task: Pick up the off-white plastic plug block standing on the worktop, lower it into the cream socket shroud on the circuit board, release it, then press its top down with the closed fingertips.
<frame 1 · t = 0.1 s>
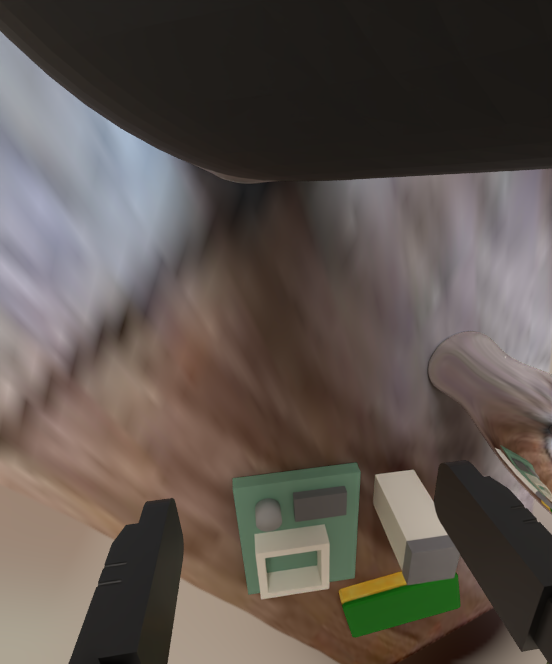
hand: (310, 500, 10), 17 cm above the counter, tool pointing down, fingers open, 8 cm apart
plug: (392, 486, 35), on the counter
beer glass: (459, 361, 30), on the counter
board: (298, 527, 36), on the counter
dish sponge: (394, 584, 43), on the counter
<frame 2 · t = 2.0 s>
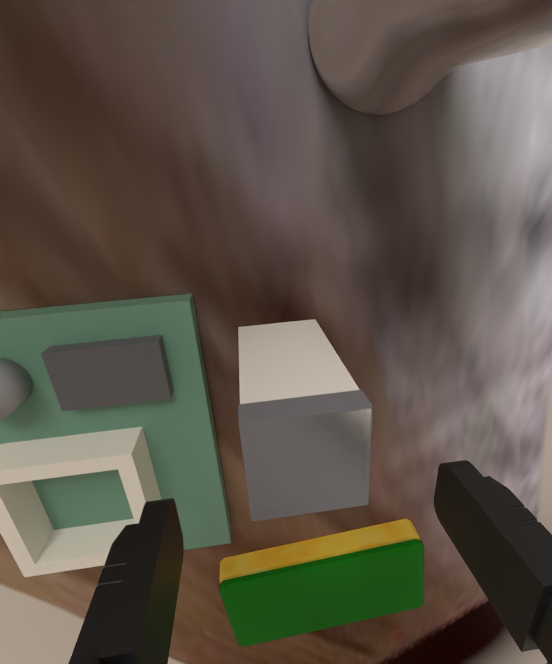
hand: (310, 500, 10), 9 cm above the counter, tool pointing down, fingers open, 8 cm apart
plug: (279, 357, 18), on the counter
beer glass: (381, 27, 14), on the counter
board: (107, 441, 19), on the counter
dish sponge: (319, 561, 26), on the counter
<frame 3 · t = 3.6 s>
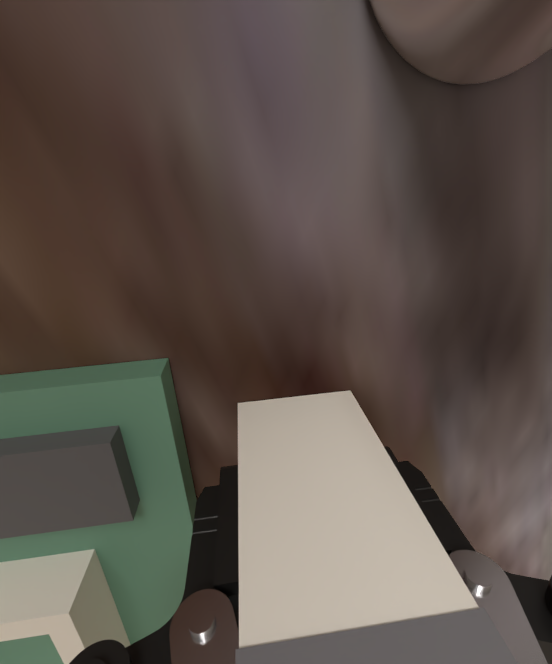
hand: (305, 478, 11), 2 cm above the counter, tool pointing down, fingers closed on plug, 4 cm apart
plug: (297, 442, 13), on the counter, touching gripper
board: (49, 556, 13), on the counter
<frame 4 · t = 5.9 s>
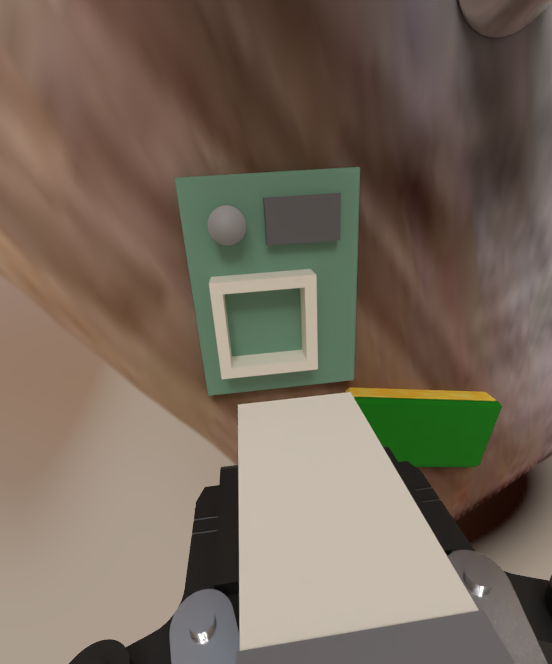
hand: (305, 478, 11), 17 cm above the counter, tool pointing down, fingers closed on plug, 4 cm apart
plug: (297, 444, 13), point 15 cm above the counter, touching gripper
board: (274, 288, 26), on the counter
dish sponge: (407, 418, 33), on the counter
when the fingers open (4 cm above the counter, at t = 8.1 s): plug stays where it is, resting on board.
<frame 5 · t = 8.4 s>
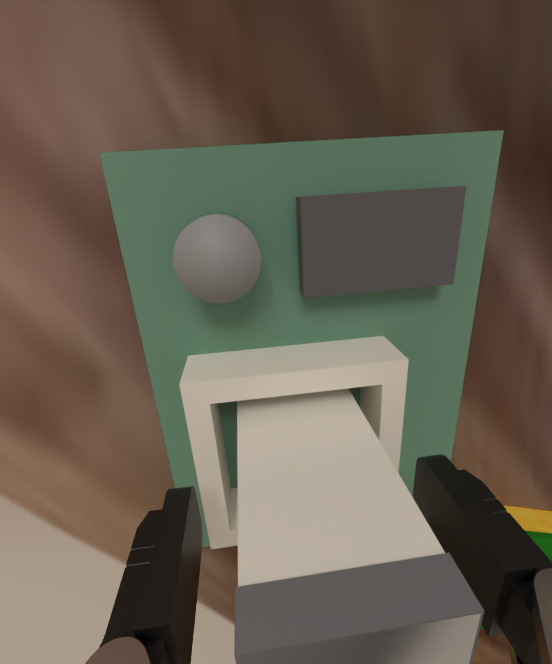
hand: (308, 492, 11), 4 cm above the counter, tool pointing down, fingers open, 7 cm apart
plug: (293, 427, 14), point 1 cm above the counter, touching board
board: (309, 365, 14), on the counter
dish sponge: (507, 545, 21), on the counter
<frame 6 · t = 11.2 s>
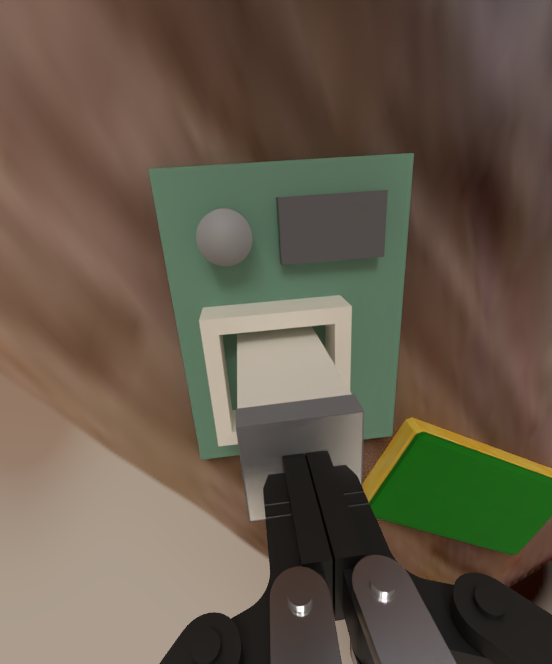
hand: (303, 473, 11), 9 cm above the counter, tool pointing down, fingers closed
plug: (277, 363, 19), point 1 cm above the counter, touching board
board: (289, 319, 19), on the counter
dish sponge: (452, 474, 26), on the counter
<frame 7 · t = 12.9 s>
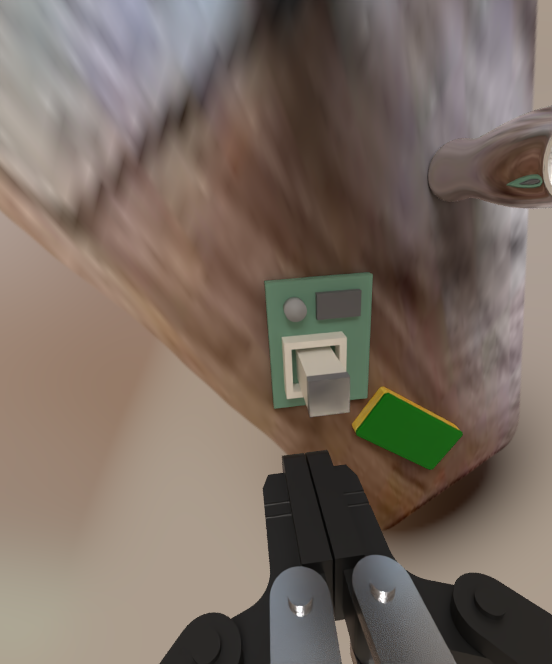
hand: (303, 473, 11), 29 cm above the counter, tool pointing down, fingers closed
plug: (312, 361, 41), point 1 cm above the counter, touching board
beer glass: (453, 171, 36), on the counter
board: (318, 341, 42), on the counter
dish sponge: (402, 422, 48), on the counter
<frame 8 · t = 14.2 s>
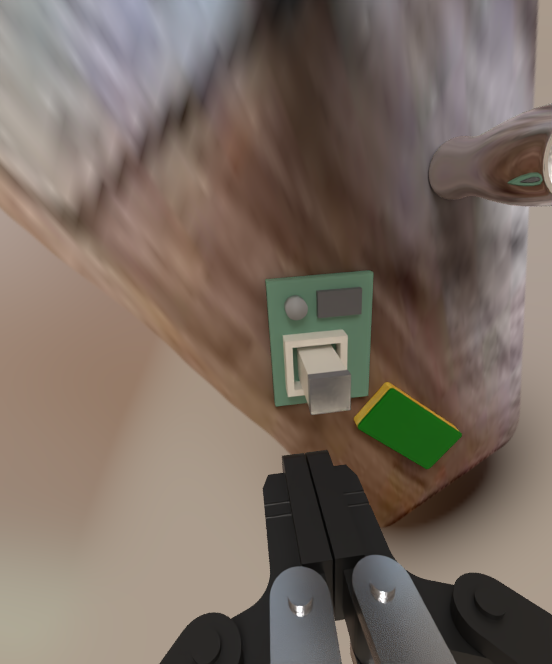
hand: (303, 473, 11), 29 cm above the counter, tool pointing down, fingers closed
plug: (313, 359, 41), point 1 cm above the counter, touching board
beer glass: (454, 169, 36), on the counter
board: (319, 339, 42), on the counter
dish sponge: (402, 420, 48), on the counter
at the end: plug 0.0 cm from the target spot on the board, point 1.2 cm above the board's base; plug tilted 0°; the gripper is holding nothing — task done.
